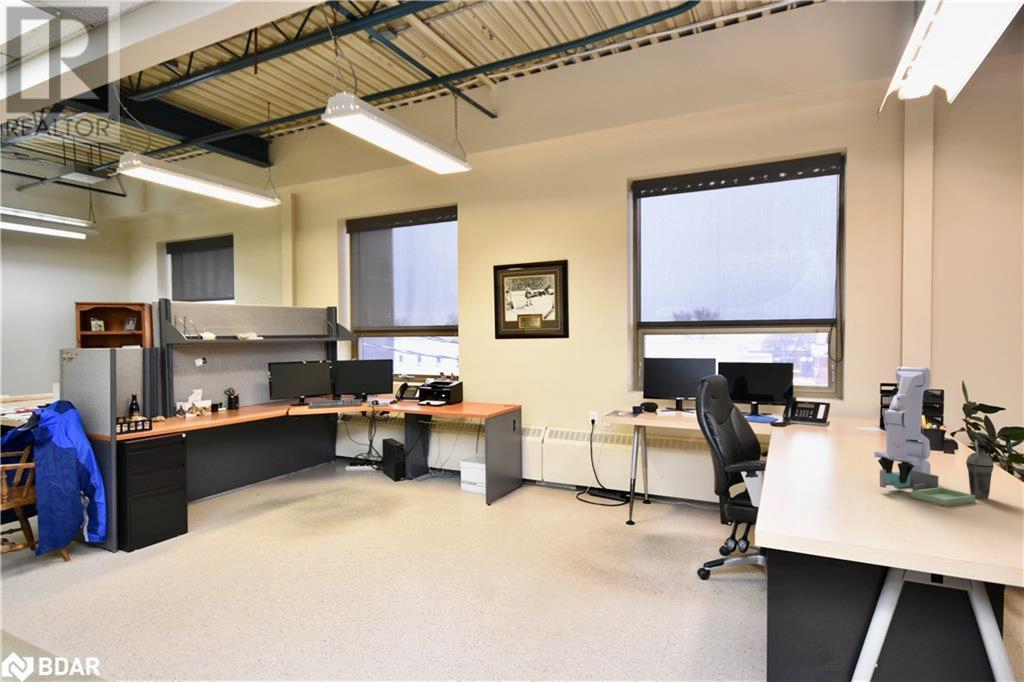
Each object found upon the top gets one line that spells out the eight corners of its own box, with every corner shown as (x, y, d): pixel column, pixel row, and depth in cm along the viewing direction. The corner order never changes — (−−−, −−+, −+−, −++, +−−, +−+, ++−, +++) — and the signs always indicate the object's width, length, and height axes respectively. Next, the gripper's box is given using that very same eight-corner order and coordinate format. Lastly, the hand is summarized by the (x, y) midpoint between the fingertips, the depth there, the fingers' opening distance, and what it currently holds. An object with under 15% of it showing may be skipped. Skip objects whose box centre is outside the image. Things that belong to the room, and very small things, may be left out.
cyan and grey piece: (897, 482, 192) (897, 466, 192) (910, 485, 188) (910, 469, 188) (874, 485, 189) (874, 468, 189) (887, 488, 185) (887, 471, 185)
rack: (900, 483, 199) (900, 467, 199) (938, 492, 187) (938, 475, 187) (886, 485, 197) (886, 469, 197) (923, 494, 184) (923, 477, 184)
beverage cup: (999, 501, 177) (999, 442, 177) (974, 500, 179) (974, 441, 179) (984, 495, 184) (984, 438, 184) (960, 494, 186) (961, 437, 186)
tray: (940, 493, 186) (940, 487, 186) (975, 502, 176) (975, 495, 176) (910, 497, 181) (910, 491, 181) (944, 506, 171) (944, 499, 171)
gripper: (868, 440, 195) (868, 477, 195) (909, 448, 181) (909, 487, 181) (881, 439, 197) (881, 475, 197) (923, 446, 183) (923, 485, 183)
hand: (895, 481), depth 189 cm, fingers closed on cyan and grey piece, 4 cm apart
